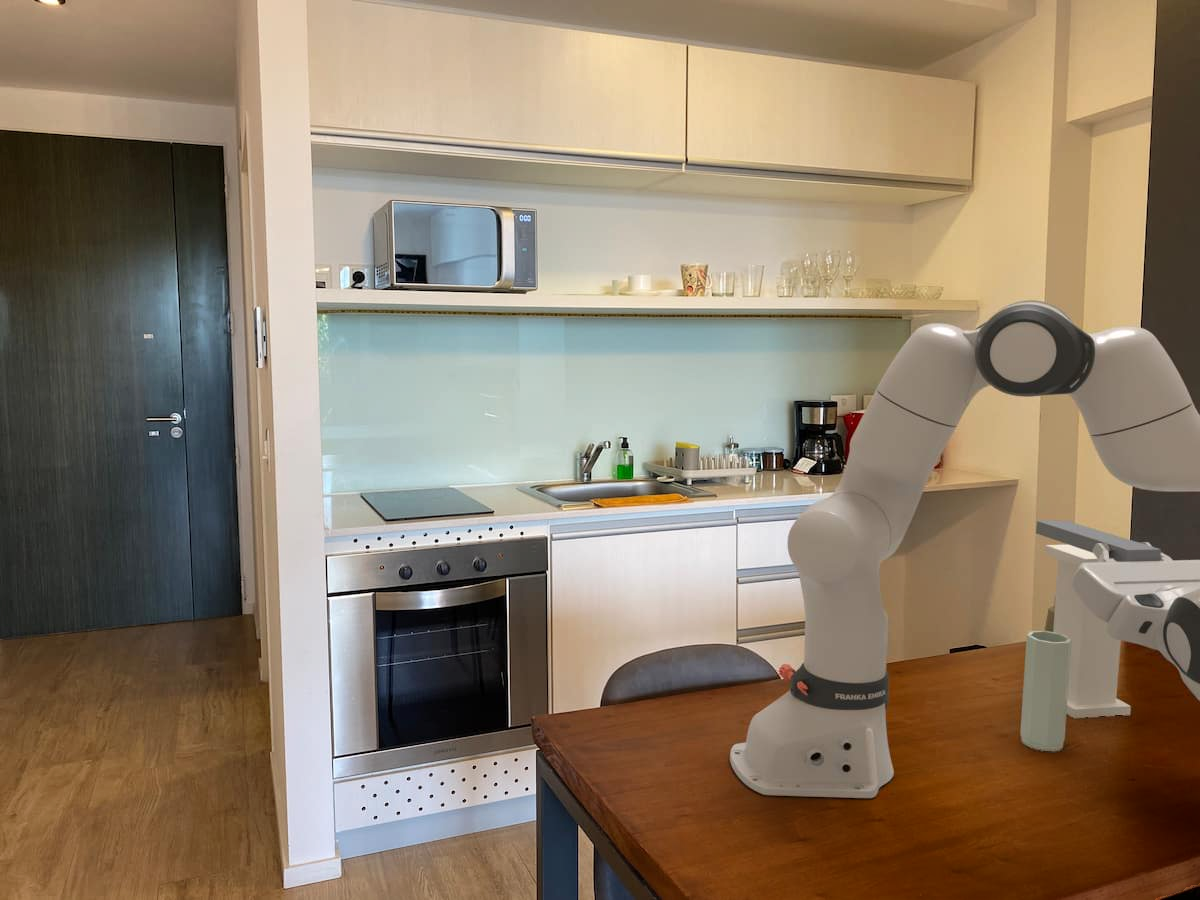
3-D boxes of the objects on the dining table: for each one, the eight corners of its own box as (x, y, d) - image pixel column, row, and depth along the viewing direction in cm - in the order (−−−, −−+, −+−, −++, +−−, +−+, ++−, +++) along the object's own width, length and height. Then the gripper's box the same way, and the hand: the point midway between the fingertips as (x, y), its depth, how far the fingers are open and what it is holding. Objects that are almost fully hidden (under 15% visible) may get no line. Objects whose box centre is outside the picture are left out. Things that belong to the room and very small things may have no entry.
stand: (1073, 718, 146) (1085, 559, 143) (1035, 694, 156) (1045, 545, 153) (1130, 715, 148) (1142, 557, 144) (1088, 691, 157) (1099, 543, 154)
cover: (1126, 564, 124) (1128, 550, 124) (1035, 533, 144) (1036, 520, 143) (1159, 563, 125) (1161, 549, 125) (1064, 532, 144) (1065, 520, 144)
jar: (1036, 753, 133) (1043, 643, 131) (1013, 736, 139) (1019, 631, 137) (1071, 751, 134) (1079, 642, 132) (1047, 734, 140) (1054, 630, 138)
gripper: (1264, 599, 118) (1195, 528, 129) (1120, 604, 115) (1063, 530, 125) (1239, 633, 121) (1174, 560, 132) (1100, 638, 118) (1045, 563, 129)
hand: (1119, 545), depth 129 cm, fingers closed on cover, 5 cm apart
